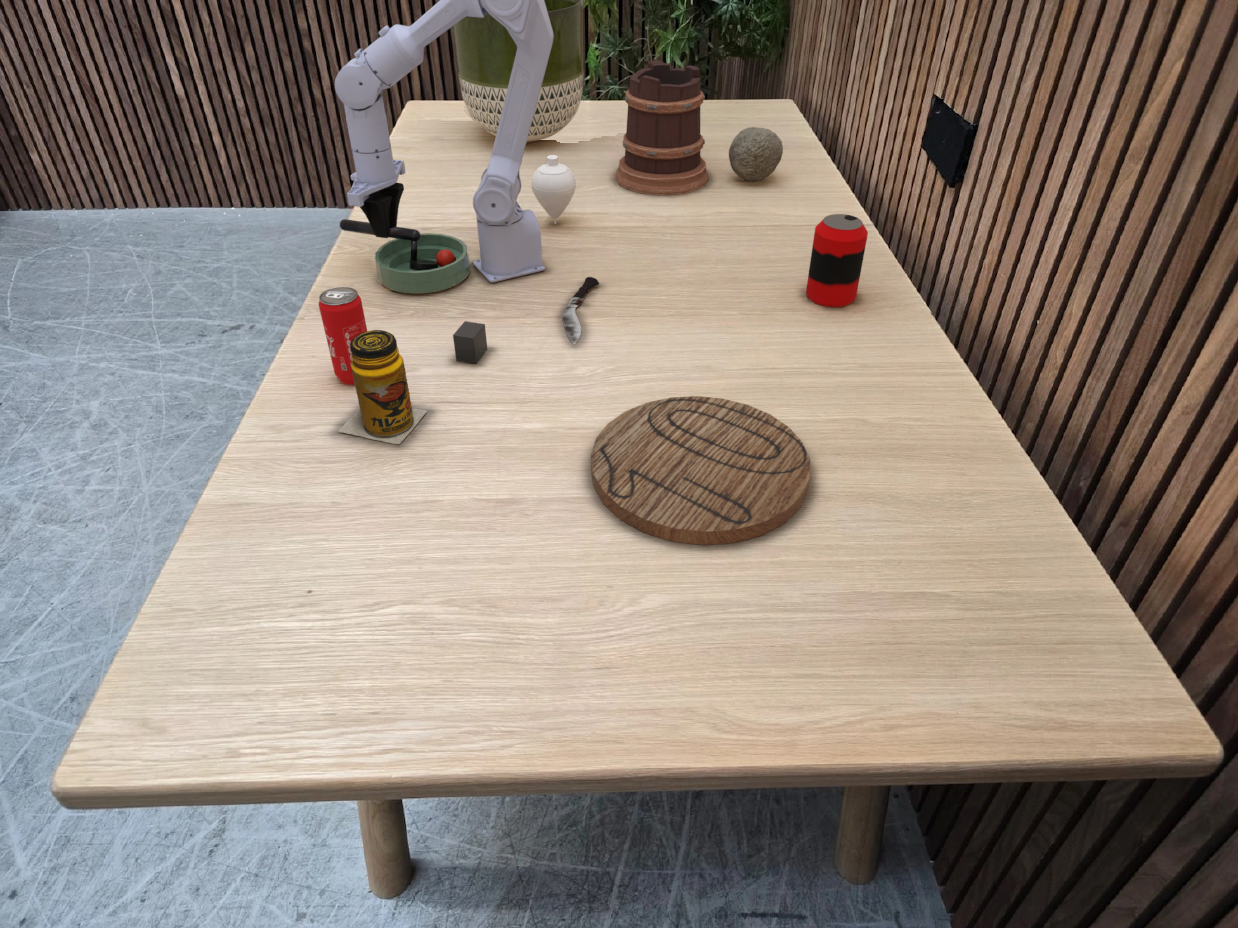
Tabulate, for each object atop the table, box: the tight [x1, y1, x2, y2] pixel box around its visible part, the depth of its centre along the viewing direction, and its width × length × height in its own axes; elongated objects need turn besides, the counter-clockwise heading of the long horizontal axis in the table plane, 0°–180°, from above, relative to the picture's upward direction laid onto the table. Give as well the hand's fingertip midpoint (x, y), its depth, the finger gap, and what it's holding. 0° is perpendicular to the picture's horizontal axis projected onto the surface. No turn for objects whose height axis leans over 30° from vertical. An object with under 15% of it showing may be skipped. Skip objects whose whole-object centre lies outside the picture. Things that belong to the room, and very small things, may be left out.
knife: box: [561, 276, 600, 346], centre depth 132 cm, size 18×1×5 cm
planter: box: [451, 0, 585, 143], centre depth 186 cm, size 27×27×27 cm
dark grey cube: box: [452, 320, 488, 365], centre depth 121 cm, size 3×4×4 cm
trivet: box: [590, 395, 811, 546], centre depth 102 cm, size 25×25×2 cm
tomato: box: [436, 250, 455, 267], centre depth 142 cm, size 3×3×3 cm
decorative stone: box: [728, 126, 784, 183], centre depth 171 cm, size 10×8×10 cm
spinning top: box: [530, 154, 577, 225], centre depth 154 cm, size 8×8×12 cm
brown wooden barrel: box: [615, 59, 710, 196], centre depth 170 cm, size 18×23×20 cm
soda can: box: [805, 213, 869, 308], centre depth 132 cm, size 8×8×12 cm
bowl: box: [374, 232, 471, 294], centre depth 140 cm, size 14×14×4 cm
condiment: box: [337, 329, 428, 445], centre depth 106 cm, size 7×8×12 cm
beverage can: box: [318, 286, 368, 386], centre depth 115 cm, size 5×5×12 cm
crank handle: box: [339, 218, 438, 271], centre depth 140 cm, size 17×4×6 cm, turn 74°
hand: (386, 233), depth 140 cm, fingers closed on crank handle, 2 cm apart
